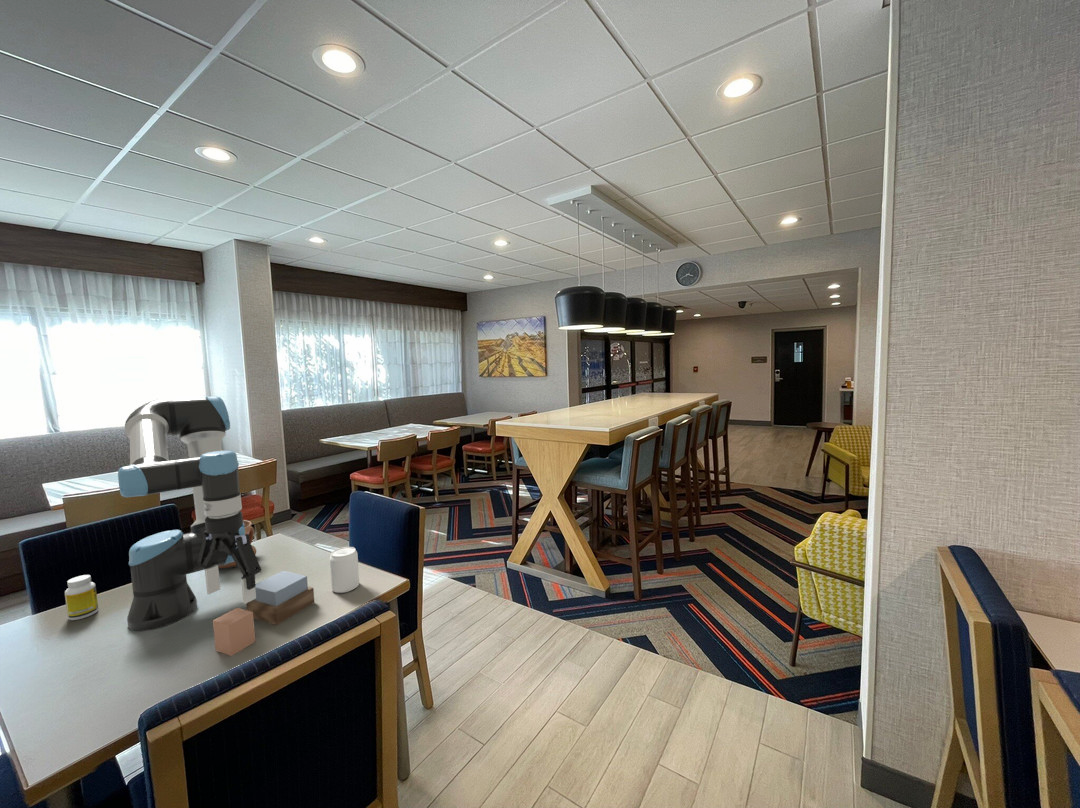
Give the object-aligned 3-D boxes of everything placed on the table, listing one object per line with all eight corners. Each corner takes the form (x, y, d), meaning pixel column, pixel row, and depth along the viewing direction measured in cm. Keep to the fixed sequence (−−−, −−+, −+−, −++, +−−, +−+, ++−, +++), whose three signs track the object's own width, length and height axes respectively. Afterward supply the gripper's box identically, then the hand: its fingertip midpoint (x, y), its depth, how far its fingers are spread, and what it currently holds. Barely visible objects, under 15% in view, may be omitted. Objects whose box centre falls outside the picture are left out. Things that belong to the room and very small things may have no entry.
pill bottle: (102, 611, 128) (98, 575, 127) (73, 623, 123) (69, 585, 122) (92, 607, 131) (88, 571, 130) (63, 618, 125) (59, 581, 124)
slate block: (252, 599, 125) (250, 586, 124) (284, 582, 134) (283, 570, 133) (276, 606, 121) (274, 592, 120) (307, 588, 130) (306, 576, 130)
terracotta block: (215, 650, 110) (212, 620, 109) (239, 636, 115) (237, 607, 115) (231, 655, 107) (228, 625, 107) (255, 641, 113) (252, 612, 112)
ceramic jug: (229, 576, 149) (226, 535, 148) (193, 572, 152) (191, 532, 150) (271, 554, 166) (269, 518, 165) (238, 551, 169) (236, 515, 168)
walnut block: (247, 617, 124) (246, 600, 124) (286, 596, 136) (284, 581, 135) (277, 626, 120) (276, 608, 119) (314, 603, 131) (313, 587, 131)
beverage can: (349, 595, 135) (346, 558, 134) (326, 593, 136) (323, 556, 135) (364, 582, 143) (362, 546, 141) (342, 580, 144) (340, 545, 143)
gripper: (175, 513, 109) (183, 595, 111) (242, 524, 100) (250, 613, 102) (207, 504, 116) (214, 581, 118) (273, 513, 107) (280, 597, 109)
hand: (231, 596), depth 110 cm, fingers open, 13 cm apart
